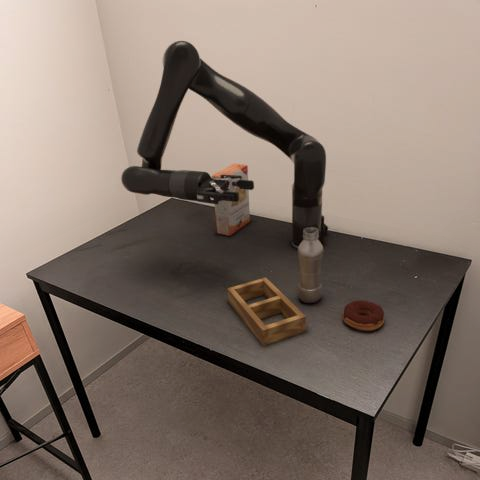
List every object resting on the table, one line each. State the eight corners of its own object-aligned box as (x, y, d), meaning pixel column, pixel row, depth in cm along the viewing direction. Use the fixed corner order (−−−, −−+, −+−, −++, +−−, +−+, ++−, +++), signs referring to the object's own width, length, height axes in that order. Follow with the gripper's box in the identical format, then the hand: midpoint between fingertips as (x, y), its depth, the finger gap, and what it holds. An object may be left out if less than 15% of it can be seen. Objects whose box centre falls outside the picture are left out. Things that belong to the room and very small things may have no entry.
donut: (392, 323, 110) (394, 309, 108) (363, 338, 106) (364, 325, 104) (362, 305, 117) (363, 292, 115) (333, 319, 113) (334, 306, 111)
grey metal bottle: (327, 297, 122) (330, 228, 110) (312, 309, 118) (313, 238, 106) (307, 290, 125) (308, 222, 114) (292, 301, 122) (291, 232, 110)
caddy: (266, 291, 127) (265, 277, 124) (305, 331, 110) (305, 316, 108) (228, 302, 123) (227, 288, 121) (263, 345, 107) (262, 330, 104)
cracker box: (231, 237, 157) (225, 177, 145) (216, 234, 160) (210, 175, 148) (251, 221, 166) (248, 164, 154) (237, 219, 169) (233, 162, 157)
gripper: (173, 180, 112) (231, 185, 105) (202, 163, 122) (257, 167, 116) (178, 209, 116) (234, 216, 110) (205, 190, 126) (258, 195, 120)
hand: (246, 191), depth 113 cm, fingers open, 8 cm apart
